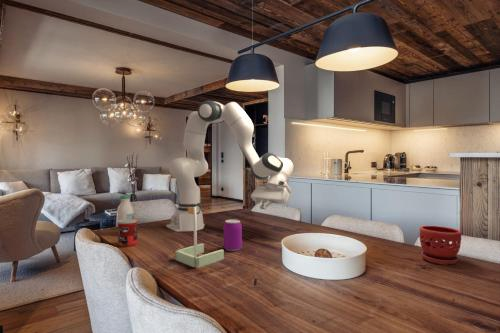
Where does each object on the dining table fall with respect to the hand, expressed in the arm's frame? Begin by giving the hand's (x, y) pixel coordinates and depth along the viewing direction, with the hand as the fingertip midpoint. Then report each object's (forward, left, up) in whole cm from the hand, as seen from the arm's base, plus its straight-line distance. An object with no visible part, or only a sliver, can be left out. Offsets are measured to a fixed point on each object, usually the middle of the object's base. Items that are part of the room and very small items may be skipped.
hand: (262, 208), depth 143 cm
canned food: (-40, -46, -15) cm, 63 cm away
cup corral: (0, -37, -15) cm, 40 cm away
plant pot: (+68, +22, -15) cm, 73 cm away
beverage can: (0, -19, -15) cm, 24 cm away
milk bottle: (-59, -38, -15) cm, 72 cm away
